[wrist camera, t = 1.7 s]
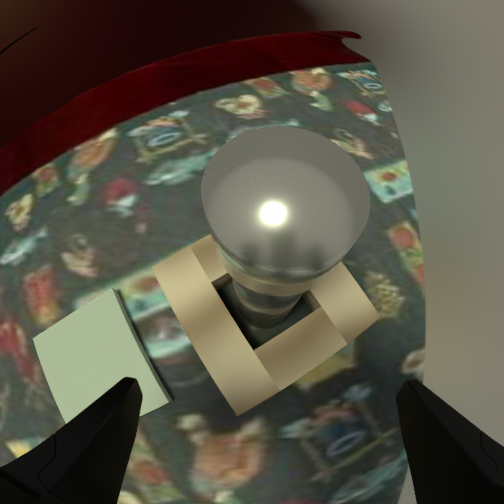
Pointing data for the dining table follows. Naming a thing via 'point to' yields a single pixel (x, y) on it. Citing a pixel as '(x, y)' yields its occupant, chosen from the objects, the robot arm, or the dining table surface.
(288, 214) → the dome-ended metal peg
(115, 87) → the dining table surface
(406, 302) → the dining table surface
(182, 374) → the dining table surface
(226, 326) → the socket block
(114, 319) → the pad
